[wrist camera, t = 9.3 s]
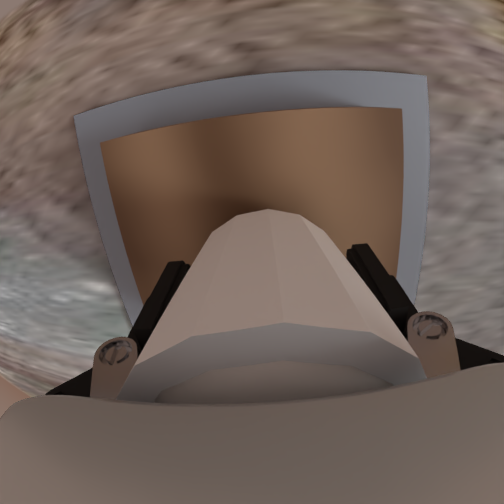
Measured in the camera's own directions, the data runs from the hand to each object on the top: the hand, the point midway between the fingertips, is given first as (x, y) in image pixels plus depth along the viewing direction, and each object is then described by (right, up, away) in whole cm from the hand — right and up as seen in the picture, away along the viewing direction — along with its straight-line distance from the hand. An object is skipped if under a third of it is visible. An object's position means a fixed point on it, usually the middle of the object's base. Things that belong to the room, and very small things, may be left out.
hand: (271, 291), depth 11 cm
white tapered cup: (0, 0, +1) cm, 1 cm away
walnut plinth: (0, +3, +7) cm, 8 cm away
